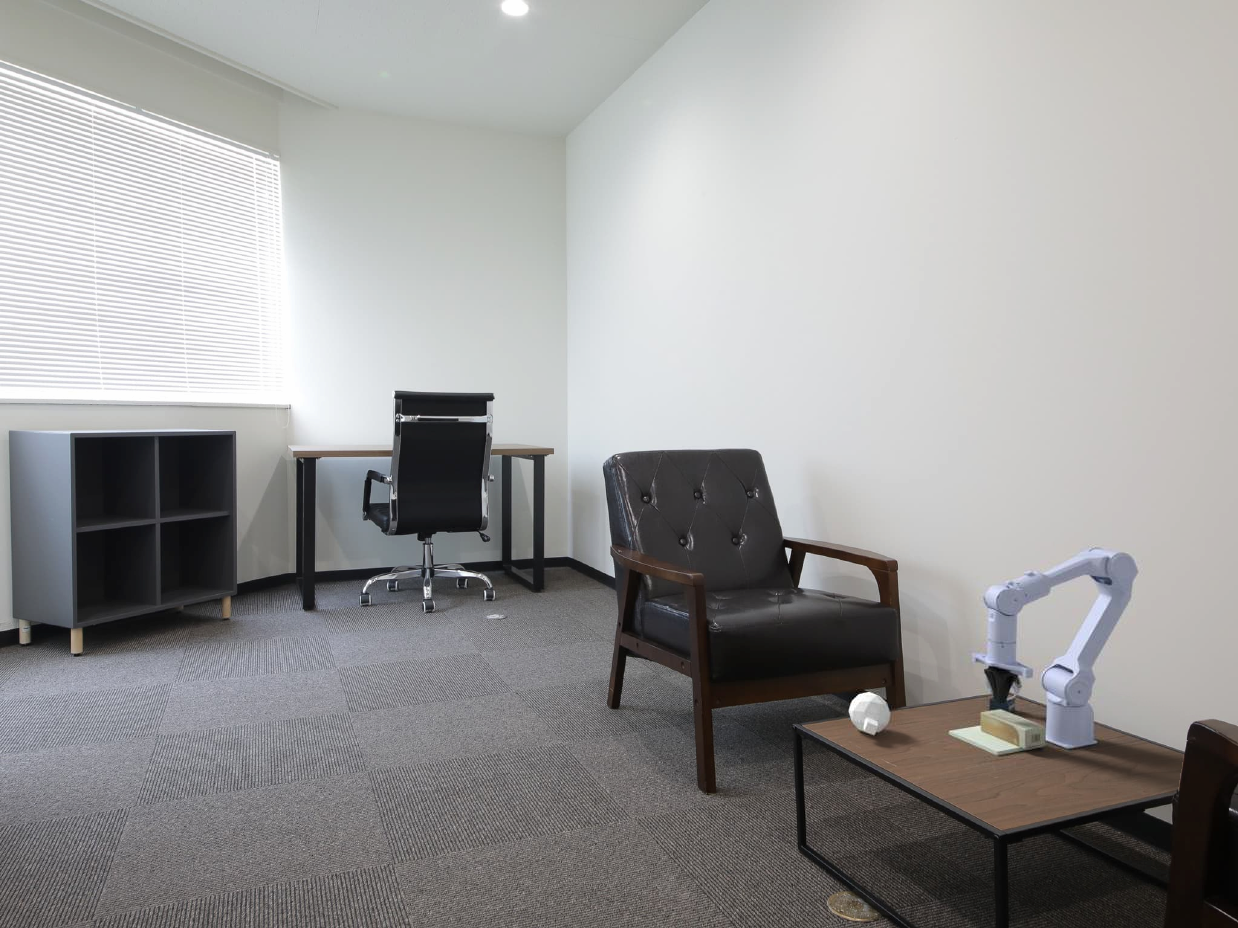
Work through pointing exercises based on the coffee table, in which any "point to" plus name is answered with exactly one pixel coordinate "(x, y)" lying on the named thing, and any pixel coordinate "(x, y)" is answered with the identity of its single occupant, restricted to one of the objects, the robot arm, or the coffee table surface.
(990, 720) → the skincare box
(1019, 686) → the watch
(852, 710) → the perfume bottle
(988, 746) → the mat
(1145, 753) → the coffee table surface
